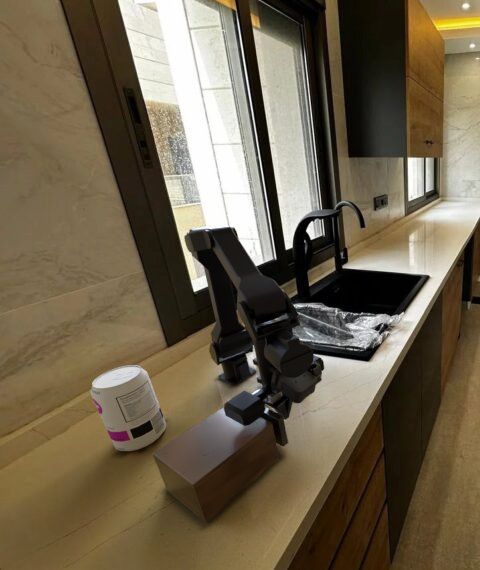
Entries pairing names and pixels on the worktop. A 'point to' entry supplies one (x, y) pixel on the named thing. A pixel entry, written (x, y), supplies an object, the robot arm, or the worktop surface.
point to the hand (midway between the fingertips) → (285, 418)
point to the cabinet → (216, 462)
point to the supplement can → (128, 407)
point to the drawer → (276, 426)
